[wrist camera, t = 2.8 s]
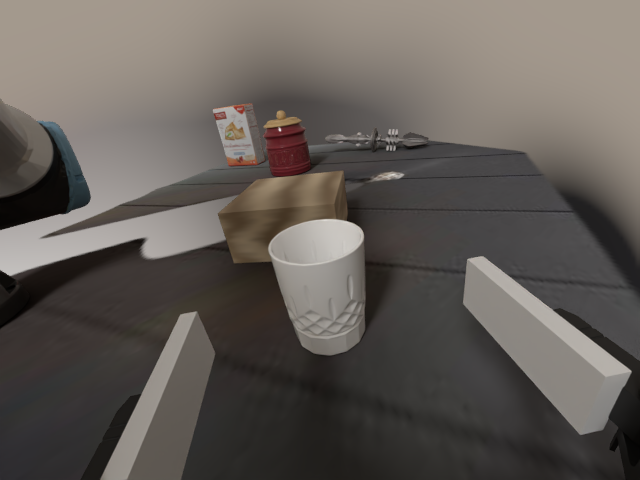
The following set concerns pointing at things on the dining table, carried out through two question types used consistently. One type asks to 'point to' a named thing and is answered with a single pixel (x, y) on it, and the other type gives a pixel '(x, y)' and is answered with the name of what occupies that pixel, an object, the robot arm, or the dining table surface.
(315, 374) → the dining table surface
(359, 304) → the white cup
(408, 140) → the spaceship
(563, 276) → the dining table surface
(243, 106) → the cracker box
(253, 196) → the riser block
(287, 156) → the canister
